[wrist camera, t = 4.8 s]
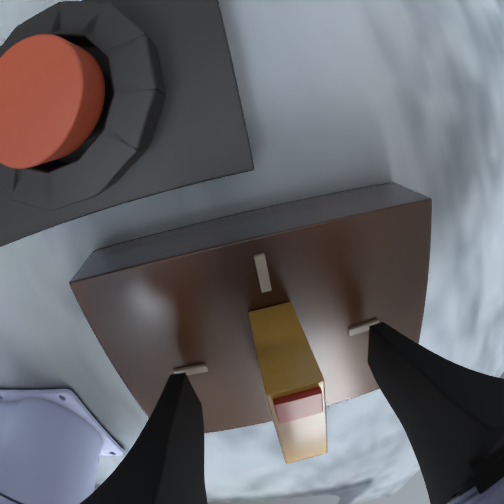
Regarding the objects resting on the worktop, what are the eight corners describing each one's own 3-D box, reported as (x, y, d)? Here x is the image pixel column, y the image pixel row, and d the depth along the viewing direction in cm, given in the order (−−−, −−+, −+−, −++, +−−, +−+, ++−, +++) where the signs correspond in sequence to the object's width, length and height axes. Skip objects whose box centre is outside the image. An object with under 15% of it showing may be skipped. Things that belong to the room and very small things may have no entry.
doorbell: (22, 230, 12) (-25, 266, 8) (-12, 78, 8) (-66, 76, 5) (247, 162, 12) (264, 179, 8) (209, -15, 9) (209, -64, 5)
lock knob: (303, 381, 13) (329, 458, 9) (268, 390, 13) (287, 469, 9) (290, 300, 11) (327, 386, 7) (248, 311, 11) (266, 402, 7)
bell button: (22, 175, 7) (-8, 188, 6) (3, 76, 6) (-28, 73, 4) (117, 136, 8) (96, 139, 6) (96, 27, 6) (73, 10, 5)
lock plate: (166, 398, 17) (163, 440, 14) (93, 250, 12) (66, 285, 10) (389, 343, 17) (413, 377, 14) (393, 181, 13) (434, 199, 10)
